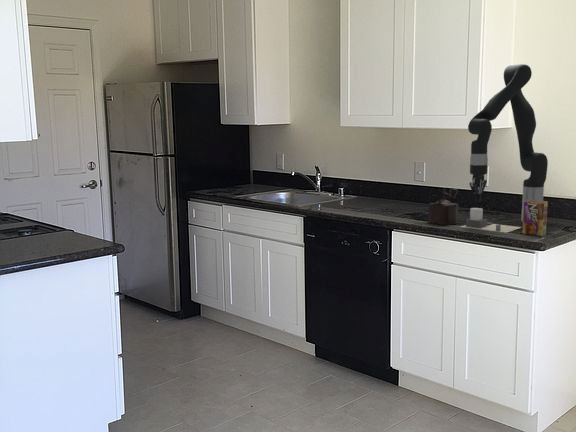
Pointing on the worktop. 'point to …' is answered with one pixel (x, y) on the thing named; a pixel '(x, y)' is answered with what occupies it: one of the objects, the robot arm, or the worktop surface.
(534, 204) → the candy box
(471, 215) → the plug
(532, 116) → the robot arm
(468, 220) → the board
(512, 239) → the worktop surface
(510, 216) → the worktop surface
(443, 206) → the manual coffee grinder
